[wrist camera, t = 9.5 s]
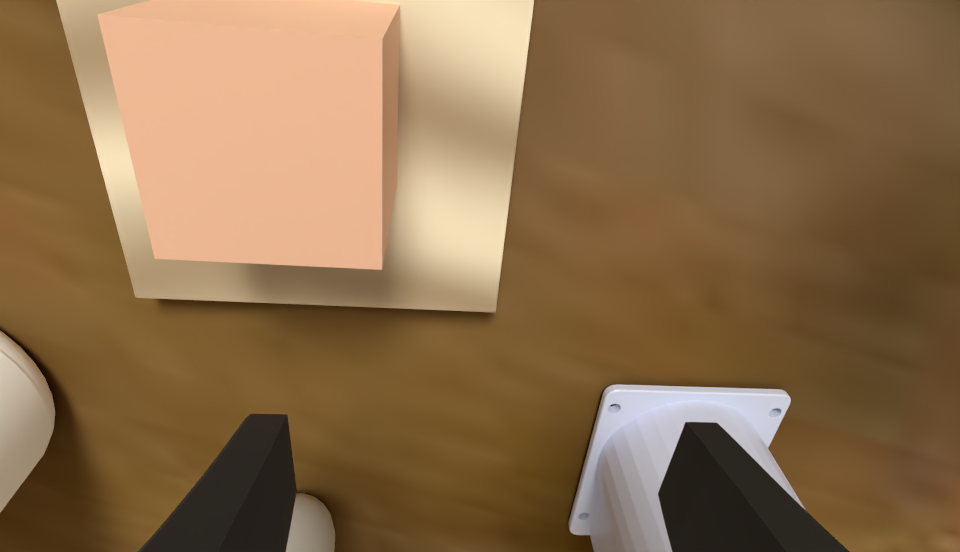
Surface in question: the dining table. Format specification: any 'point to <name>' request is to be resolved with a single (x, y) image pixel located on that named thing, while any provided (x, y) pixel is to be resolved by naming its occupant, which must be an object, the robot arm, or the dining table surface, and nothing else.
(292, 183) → the peach cube
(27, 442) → the wine bottle
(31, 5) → the dining table surface
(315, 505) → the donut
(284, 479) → the robot arm
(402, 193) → the birch board
